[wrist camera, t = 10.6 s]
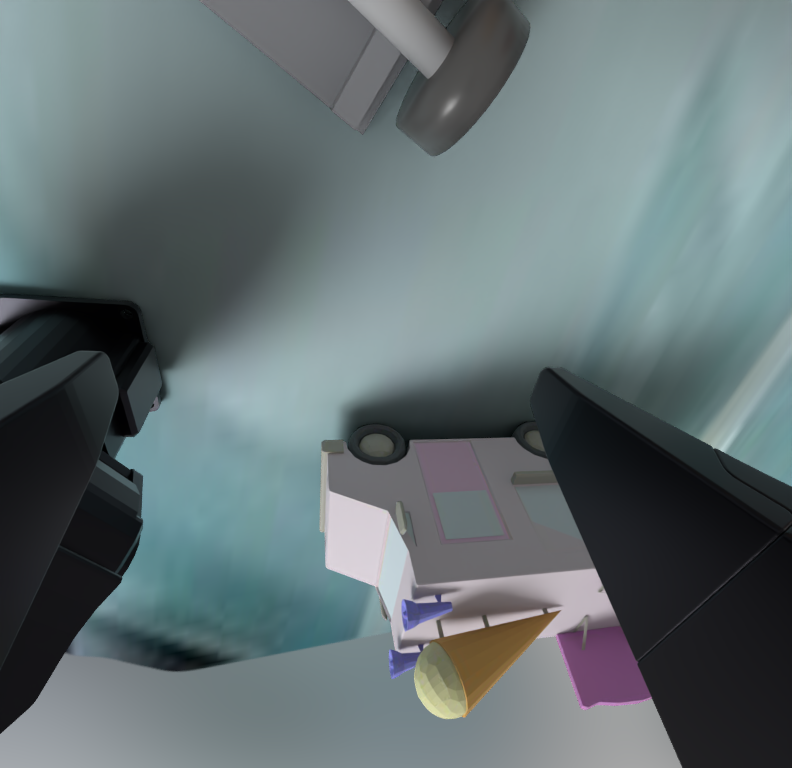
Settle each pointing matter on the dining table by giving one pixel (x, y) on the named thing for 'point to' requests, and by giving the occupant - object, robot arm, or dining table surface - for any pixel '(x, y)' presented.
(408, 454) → the toy vehicle
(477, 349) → the dining table surface
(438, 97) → the chassis
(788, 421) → the dining table surface
